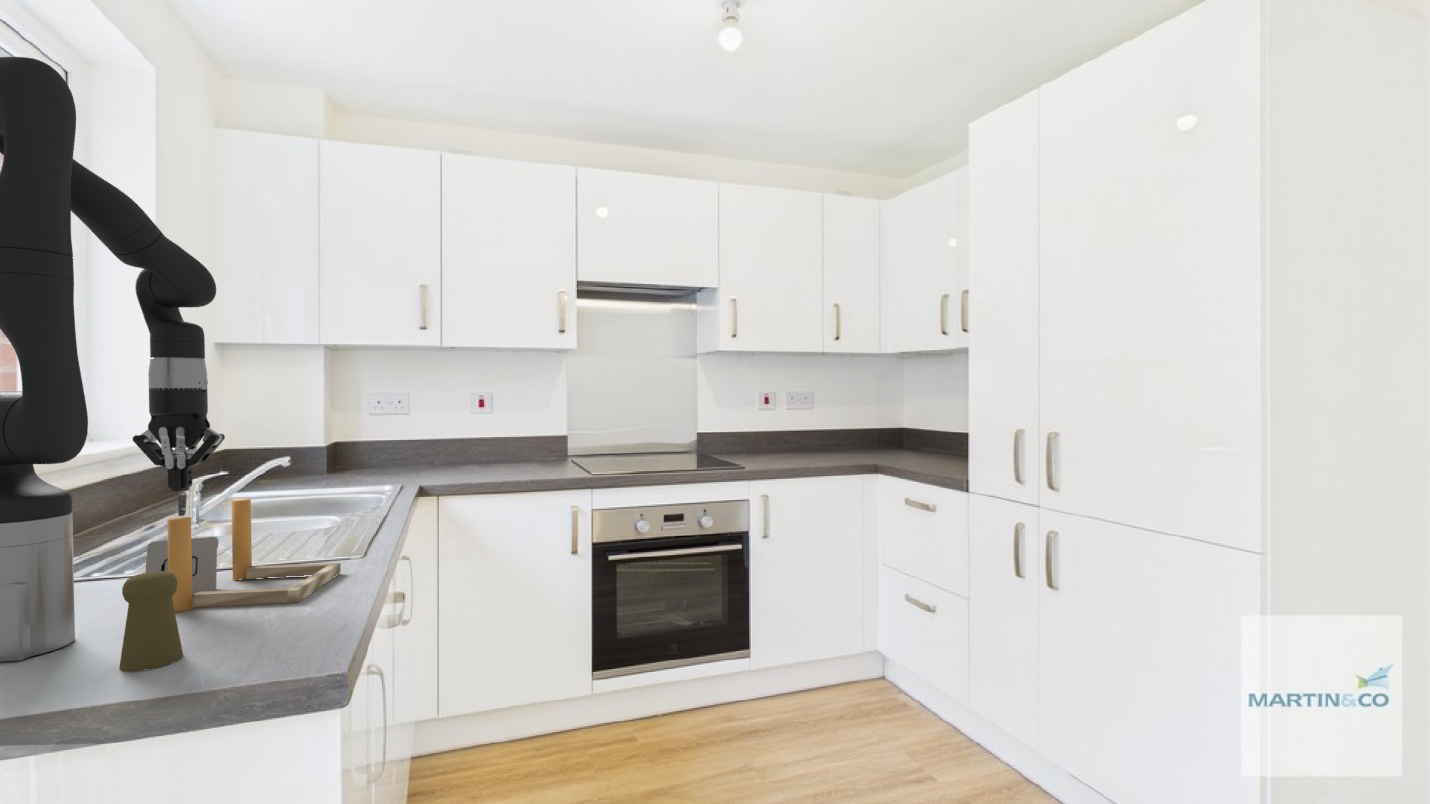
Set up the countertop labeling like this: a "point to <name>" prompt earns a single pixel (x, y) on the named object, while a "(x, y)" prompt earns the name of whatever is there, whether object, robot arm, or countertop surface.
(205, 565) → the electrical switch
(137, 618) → the cork
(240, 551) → the post right
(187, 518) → the post left
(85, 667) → the countertop surface
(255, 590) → the wooden square frame
